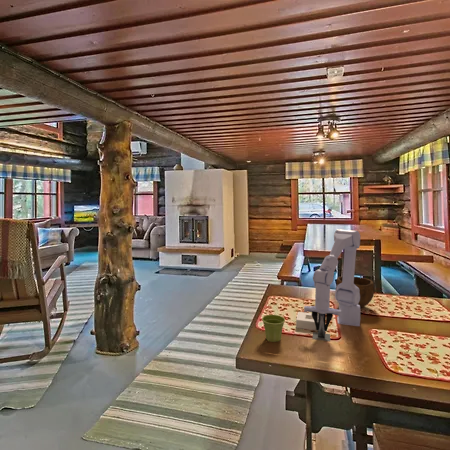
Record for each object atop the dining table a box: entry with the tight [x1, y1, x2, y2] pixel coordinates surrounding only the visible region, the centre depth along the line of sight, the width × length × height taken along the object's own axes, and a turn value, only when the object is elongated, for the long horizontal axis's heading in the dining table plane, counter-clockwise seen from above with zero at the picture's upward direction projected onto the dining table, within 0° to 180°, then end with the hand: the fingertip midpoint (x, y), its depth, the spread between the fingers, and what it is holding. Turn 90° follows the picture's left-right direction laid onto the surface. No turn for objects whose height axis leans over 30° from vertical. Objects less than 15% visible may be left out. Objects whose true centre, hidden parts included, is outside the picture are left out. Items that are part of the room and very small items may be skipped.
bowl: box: [335, 275, 375, 308], centre depth 163 cm, size 19×19×15 cm
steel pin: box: [317, 313, 326, 338], centre depth 127 cm, size 3×3×10 cm
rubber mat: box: [312, 331, 331, 342], centre depth 128 cm, size 7×7×1 cm
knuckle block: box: [295, 311, 318, 332], centre depth 139 cm, size 12×10×4 cm
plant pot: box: [261, 314, 286, 343], centre depth 126 cm, size 9×9×9 cm
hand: (321, 329), depth 128 cm, fingers closed on steel pin, 3 cm apart
